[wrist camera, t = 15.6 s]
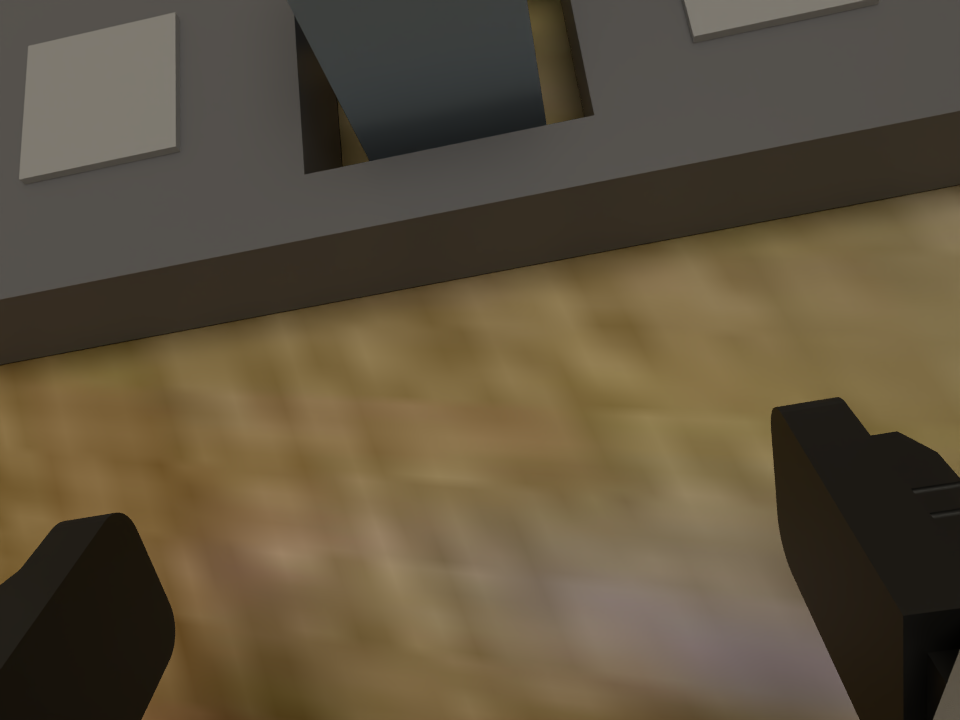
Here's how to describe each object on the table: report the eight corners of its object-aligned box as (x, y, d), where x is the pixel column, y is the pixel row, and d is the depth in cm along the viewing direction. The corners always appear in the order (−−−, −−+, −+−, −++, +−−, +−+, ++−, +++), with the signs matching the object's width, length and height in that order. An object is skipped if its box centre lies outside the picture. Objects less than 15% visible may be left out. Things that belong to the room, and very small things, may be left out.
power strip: (906, -138, 22) (954, -279, 19) (1031, 171, 19) (1116, 65, 15) (-116, 95, 25) (-228, 8, 22) (-157, 394, 22) (-297, 345, 18)
